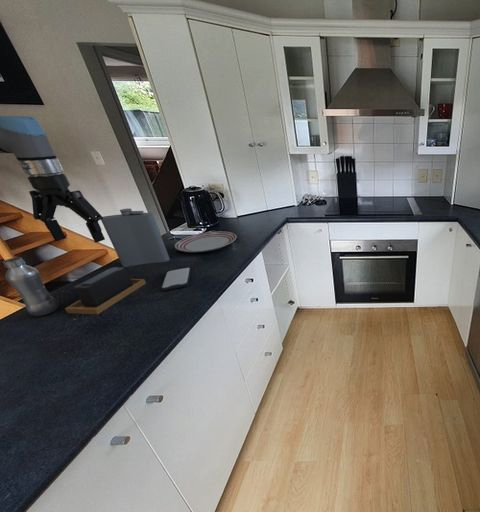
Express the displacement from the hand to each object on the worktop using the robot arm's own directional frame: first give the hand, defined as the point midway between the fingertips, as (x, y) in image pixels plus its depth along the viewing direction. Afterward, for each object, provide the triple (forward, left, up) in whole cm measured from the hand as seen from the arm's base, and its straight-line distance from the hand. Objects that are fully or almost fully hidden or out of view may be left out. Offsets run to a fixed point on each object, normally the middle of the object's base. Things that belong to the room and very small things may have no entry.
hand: (80, 240), depth 90 cm
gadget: (0, 0, -22) cm, 22 cm away
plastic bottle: (-12, -10, -23) cm, 28 cm away
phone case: (+16, +13, -23) cm, 31 cm away
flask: (-9, +27, -23) cm, 37 cm away
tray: (0, 0, -23) cm, 23 cm away
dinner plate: (+7, +47, -23) cm, 53 cm away
